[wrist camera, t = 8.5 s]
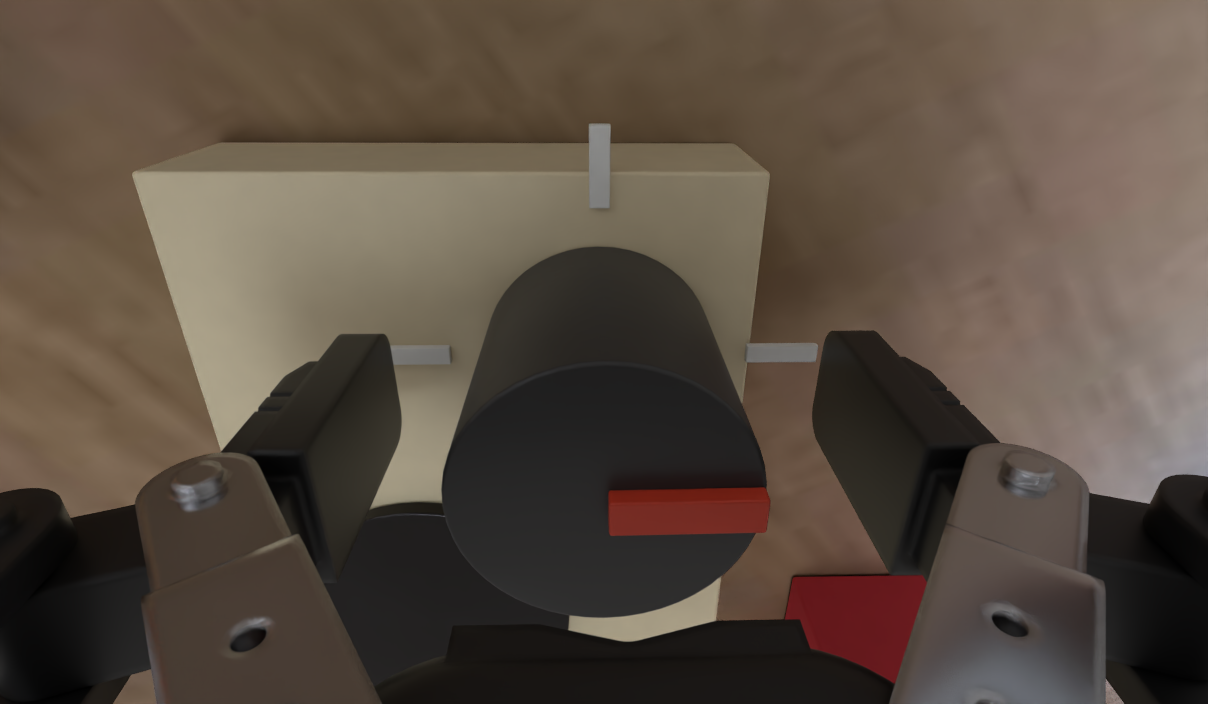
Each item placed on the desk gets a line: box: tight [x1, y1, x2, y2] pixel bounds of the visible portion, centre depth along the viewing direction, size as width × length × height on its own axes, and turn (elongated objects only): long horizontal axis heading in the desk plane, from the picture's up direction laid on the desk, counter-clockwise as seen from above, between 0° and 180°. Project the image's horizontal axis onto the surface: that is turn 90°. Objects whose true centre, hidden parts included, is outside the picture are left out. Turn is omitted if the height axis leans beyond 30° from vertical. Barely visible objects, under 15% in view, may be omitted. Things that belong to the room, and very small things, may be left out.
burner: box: [323, 502, 570, 686], centre depth 16 cm, size 7×7×1 cm
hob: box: [133, 123, 818, 642], centre depth 15 cm, size 15×12×3 cm
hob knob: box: [441, 246, 771, 618], centre depth 11 cm, size 4×4×5 cm
